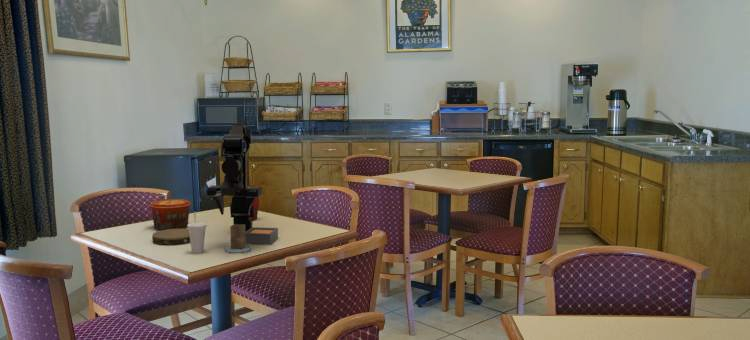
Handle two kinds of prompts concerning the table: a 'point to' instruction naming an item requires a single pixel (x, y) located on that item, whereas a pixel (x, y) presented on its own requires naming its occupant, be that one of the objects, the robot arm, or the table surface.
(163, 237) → the tin can
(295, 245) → the table surface
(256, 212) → the french fries
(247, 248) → the saucer
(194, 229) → the smoothie
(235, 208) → the robot arm
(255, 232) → the button
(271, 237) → the box
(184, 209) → the food container
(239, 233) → the brown upright block
